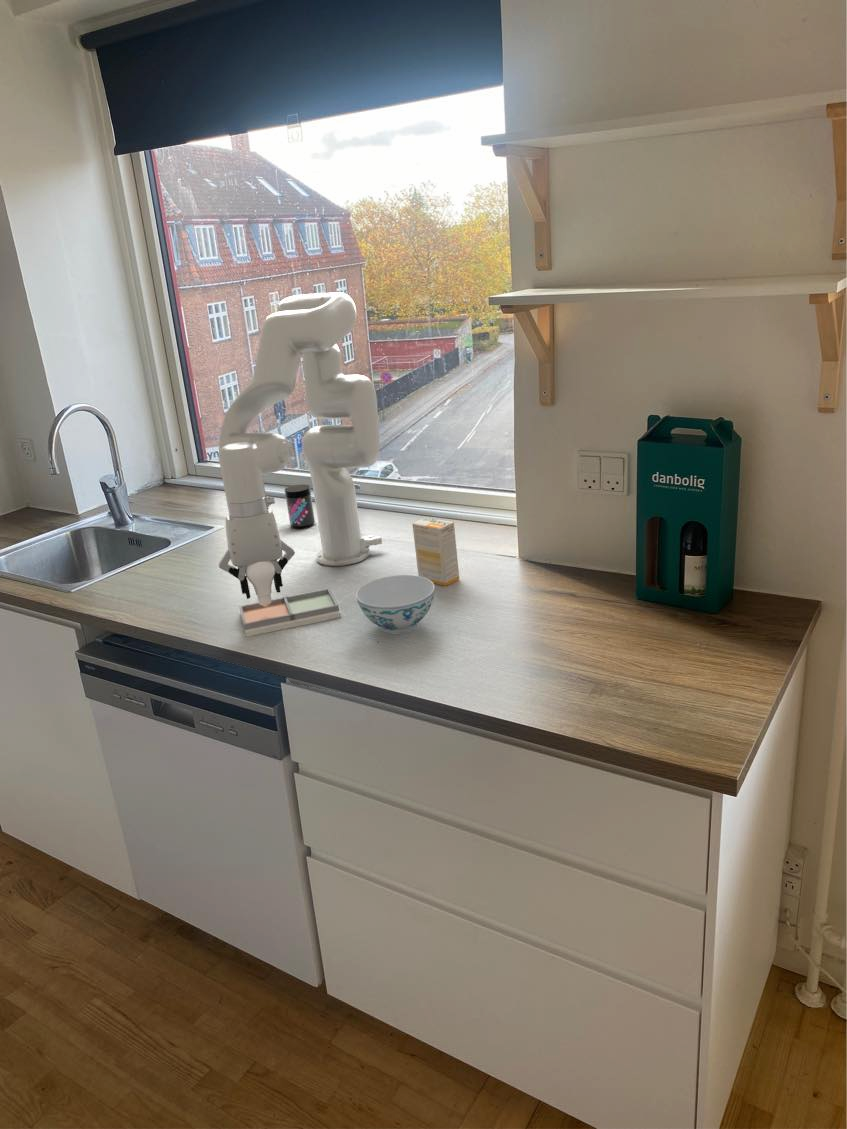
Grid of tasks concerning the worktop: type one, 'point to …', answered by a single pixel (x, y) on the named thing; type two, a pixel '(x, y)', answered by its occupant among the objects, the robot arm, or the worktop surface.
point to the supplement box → (436, 550)
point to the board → (289, 612)
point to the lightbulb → (261, 580)
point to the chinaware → (396, 601)
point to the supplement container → (300, 506)
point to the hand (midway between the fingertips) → (262, 592)
